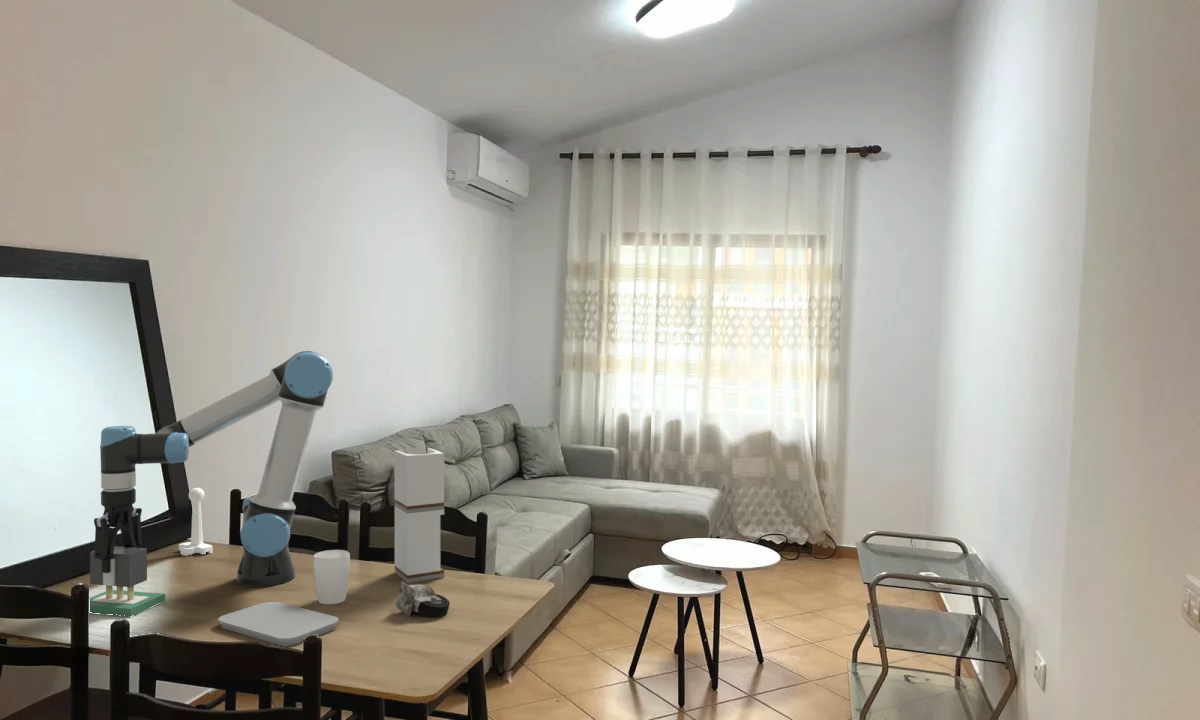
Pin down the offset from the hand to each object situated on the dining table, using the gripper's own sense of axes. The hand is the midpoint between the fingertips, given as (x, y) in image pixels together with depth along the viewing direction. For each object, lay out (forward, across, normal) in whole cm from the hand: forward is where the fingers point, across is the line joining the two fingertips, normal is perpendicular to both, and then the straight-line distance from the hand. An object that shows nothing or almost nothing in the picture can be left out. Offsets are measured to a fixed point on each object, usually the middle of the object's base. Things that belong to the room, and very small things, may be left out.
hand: (119, 581), depth 213 cm
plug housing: (0, 0, 0) cm, 0 cm away
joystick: (+7, -49, -15) cm, 52 cm away
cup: (+6, -15, +49) cm, 52 cm away
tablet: (+7, +5, +46) cm, 47 cm away
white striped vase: (+6, -41, +62) cm, 75 cm away
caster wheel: (+6, -11, +76) cm, 77 cm away
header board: (+6, 0, 0) cm, 6 cm away
